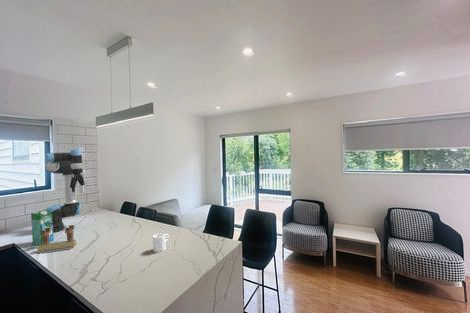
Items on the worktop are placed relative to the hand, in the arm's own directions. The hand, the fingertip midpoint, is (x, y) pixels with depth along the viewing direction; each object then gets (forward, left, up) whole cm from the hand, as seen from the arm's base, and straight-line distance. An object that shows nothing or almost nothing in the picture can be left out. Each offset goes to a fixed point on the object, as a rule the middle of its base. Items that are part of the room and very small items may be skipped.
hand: (78, 194), depth 174 cm
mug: (+44, +67, -37) cm, 88 cm away
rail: (+17, -8, -36) cm, 41 cm away
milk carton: (-3, -27, -37) cm, 46 cm away
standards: (+7, -12, -37) cm, 39 cm away
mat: (+17, -8, -37) cm, 41 cm away
